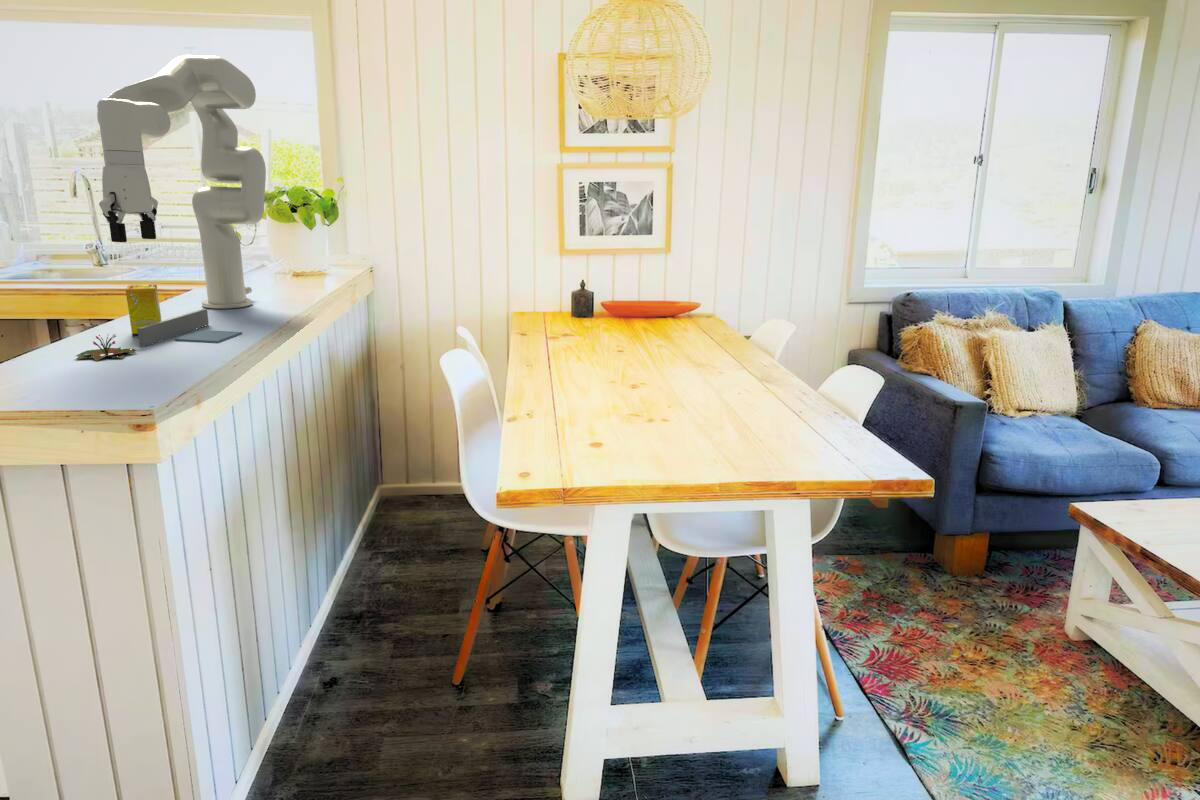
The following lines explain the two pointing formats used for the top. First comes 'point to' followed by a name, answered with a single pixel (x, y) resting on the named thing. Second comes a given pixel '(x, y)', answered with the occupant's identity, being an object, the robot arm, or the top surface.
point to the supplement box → (142, 306)
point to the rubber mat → (208, 336)
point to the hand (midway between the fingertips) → (134, 240)
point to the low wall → (172, 327)
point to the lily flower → (104, 350)
